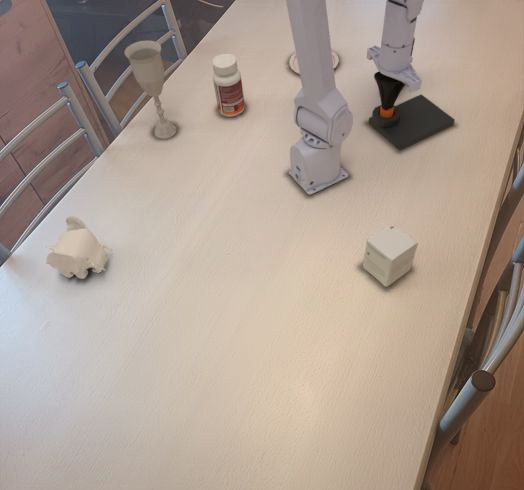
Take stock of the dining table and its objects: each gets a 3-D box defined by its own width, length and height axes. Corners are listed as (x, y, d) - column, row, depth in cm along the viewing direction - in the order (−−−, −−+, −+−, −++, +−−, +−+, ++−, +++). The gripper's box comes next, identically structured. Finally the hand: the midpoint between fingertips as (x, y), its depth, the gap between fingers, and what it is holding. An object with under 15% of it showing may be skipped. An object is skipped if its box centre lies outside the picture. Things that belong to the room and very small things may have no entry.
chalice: (183, 121, 114) (164, 39, 99) (178, 141, 111) (157, 59, 95) (153, 121, 115) (128, 41, 99) (146, 141, 112) (120, 60, 96)
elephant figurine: (107, 290, 91) (89, 258, 83) (48, 284, 93) (24, 252, 85) (124, 250, 95) (108, 216, 88) (67, 245, 97) (46, 211, 90)
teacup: (281, 58, 124) (279, 32, 118) (323, 43, 125) (324, 17, 120) (303, 83, 118) (303, 56, 112) (347, 67, 119) (349, 40, 114)
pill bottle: (250, 108, 115) (245, 58, 105) (230, 121, 113) (223, 72, 103) (232, 97, 117) (225, 48, 107) (212, 110, 115) (204, 61, 105)
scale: (398, 151, 103) (400, 139, 101) (366, 123, 109) (367, 110, 106) (453, 125, 106) (456, 112, 103) (419, 99, 111) (421, 86, 109)
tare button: (384, 120, 105) (385, 113, 103) (376, 113, 106) (377, 106, 105) (395, 115, 105) (396, 108, 104) (387, 108, 106) (388, 101, 105)
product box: (361, 267, 89) (365, 239, 82) (386, 250, 90) (392, 221, 84) (386, 288, 86) (392, 260, 80) (411, 270, 88) (419, 241, 81)
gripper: (440, 49, 90) (425, 117, 101) (390, 16, 97) (382, 83, 108) (408, 63, 88) (397, 130, 100) (360, 28, 95) (355, 95, 107)
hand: (387, 107), depth 104 cm, fingers closed
